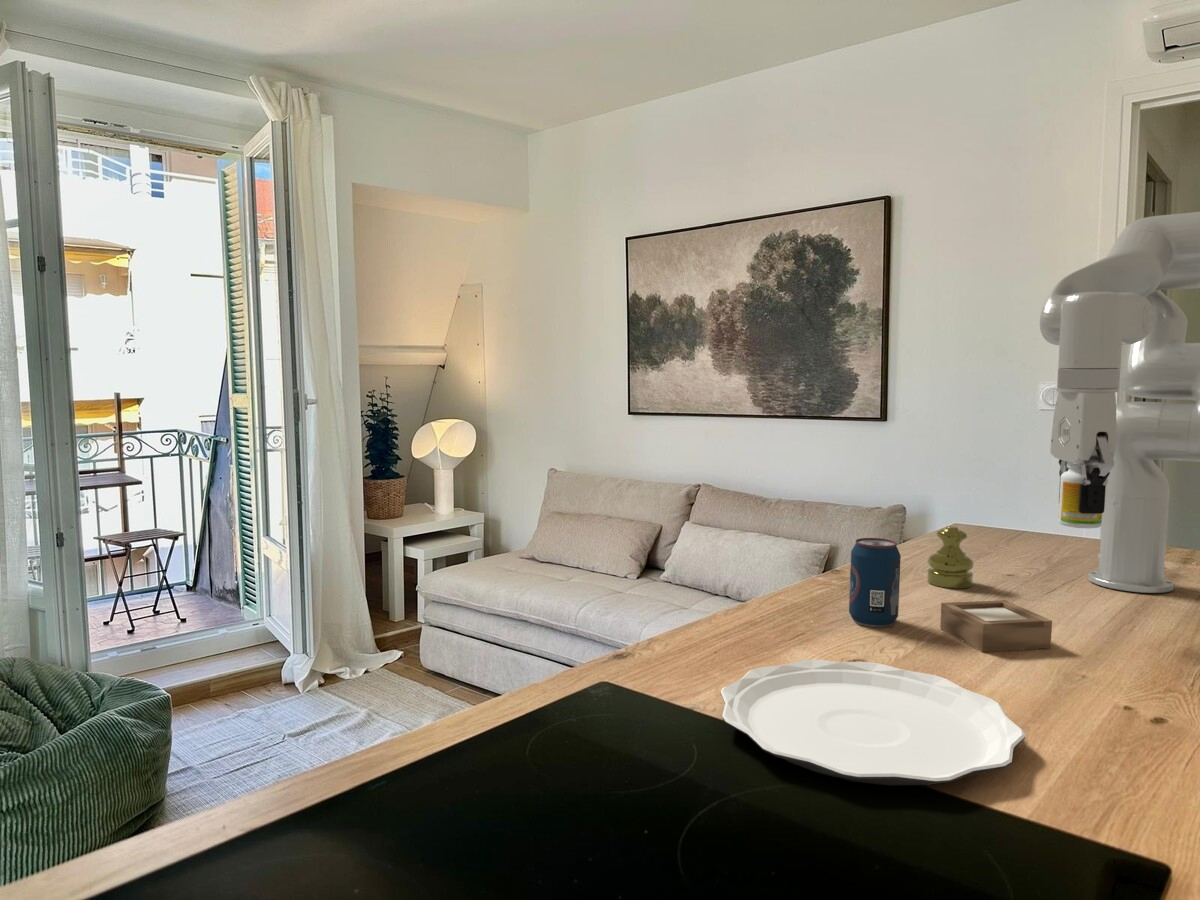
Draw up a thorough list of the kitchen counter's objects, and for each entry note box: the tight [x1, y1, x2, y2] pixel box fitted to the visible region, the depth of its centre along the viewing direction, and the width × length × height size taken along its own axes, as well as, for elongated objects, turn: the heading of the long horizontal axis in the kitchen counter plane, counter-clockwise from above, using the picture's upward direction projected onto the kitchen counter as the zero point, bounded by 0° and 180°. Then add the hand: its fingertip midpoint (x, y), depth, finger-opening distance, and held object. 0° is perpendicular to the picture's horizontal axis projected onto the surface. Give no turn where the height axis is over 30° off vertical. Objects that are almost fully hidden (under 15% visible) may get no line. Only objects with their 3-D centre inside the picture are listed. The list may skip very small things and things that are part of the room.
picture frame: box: [939, 599, 1053, 653], centre depth 117 cm, size 10×10×4 cm
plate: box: [720, 659, 1026, 787], centre depth 88 cm, size 29×29×2 cm
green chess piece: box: [926, 525, 975, 590], centre depth 146 cm, size 7×7×10 cm
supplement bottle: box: [1058, 458, 1102, 529], centre depth 120 cm, size 5×5×10 cm
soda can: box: [848, 537, 902, 628], centre depth 124 cm, size 7×7×12 cm
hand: (1080, 507), depth 120 cm, fingers closed on supplement bottle, 5 cm apart
